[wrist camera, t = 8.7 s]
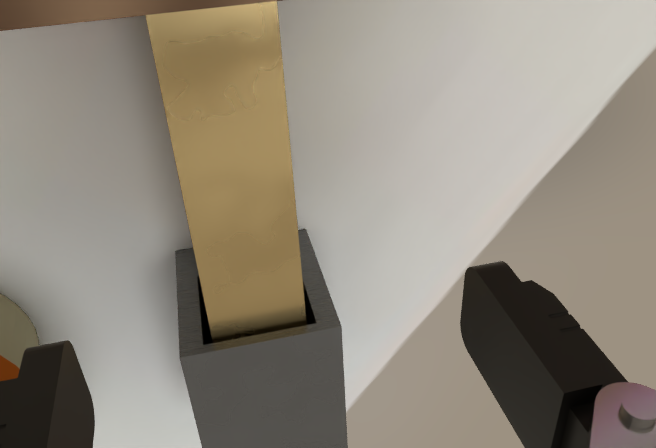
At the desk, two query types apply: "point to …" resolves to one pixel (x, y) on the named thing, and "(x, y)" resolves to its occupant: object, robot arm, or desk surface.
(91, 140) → the desk surface
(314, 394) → the grey sleeve
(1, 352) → the reusable coffee cup
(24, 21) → the walnut block
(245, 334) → the brass bar
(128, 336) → the desk surface
